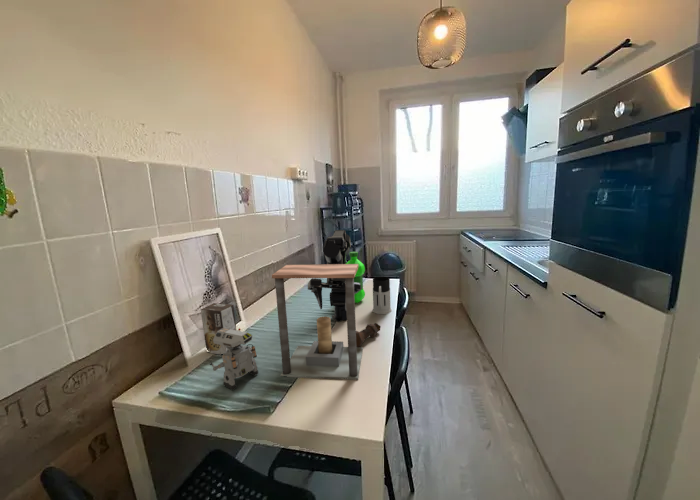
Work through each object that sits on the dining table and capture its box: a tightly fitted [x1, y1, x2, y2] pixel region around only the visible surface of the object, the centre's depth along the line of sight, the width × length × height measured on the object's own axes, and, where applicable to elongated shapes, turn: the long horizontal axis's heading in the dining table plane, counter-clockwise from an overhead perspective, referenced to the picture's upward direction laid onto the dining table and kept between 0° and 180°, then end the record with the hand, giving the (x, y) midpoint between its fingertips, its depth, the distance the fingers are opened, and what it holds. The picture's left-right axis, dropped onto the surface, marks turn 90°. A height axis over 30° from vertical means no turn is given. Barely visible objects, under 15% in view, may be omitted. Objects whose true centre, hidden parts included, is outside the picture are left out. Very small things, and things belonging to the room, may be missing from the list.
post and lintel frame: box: [271, 263, 364, 380], centre depth 91 cm, size 18×23×31 cm
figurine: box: [209, 328, 259, 391], centre depth 85 cm, size 9×12×15 cm
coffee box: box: [200, 302, 237, 355], centre depth 103 cm, size 9×6×16 cm
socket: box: [306, 340, 345, 366], centre depth 95 cm, size 10×10×4 cm
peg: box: [316, 316, 332, 354], centre depth 94 cm, size 4×4×13 cm
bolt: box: [356, 322, 381, 347], centre depth 107 cm, size 6×5×15 cm
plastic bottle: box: [346, 251, 366, 304], centre depth 146 cm, size 10×10×25 cm
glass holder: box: [372, 276, 393, 315], centre depth 131 cm, size 9×14×15 cm, turn 170°
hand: (334, 309), depth 103 cm, fingers open, 9 cm apart
